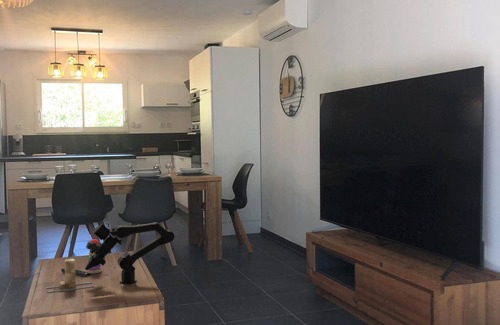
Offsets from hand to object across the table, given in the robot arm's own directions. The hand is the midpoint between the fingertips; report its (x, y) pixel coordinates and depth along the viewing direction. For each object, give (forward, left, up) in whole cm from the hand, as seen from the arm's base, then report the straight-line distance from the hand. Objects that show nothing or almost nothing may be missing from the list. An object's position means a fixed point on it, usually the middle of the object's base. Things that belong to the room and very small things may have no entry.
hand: (85, 269), depth 267 cm
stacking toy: (+20, -23, -9) cm, 32 cm away
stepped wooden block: (+5, +7, -8) cm, 12 cm away
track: (+4, +6, -9) cm, 12 cm away
